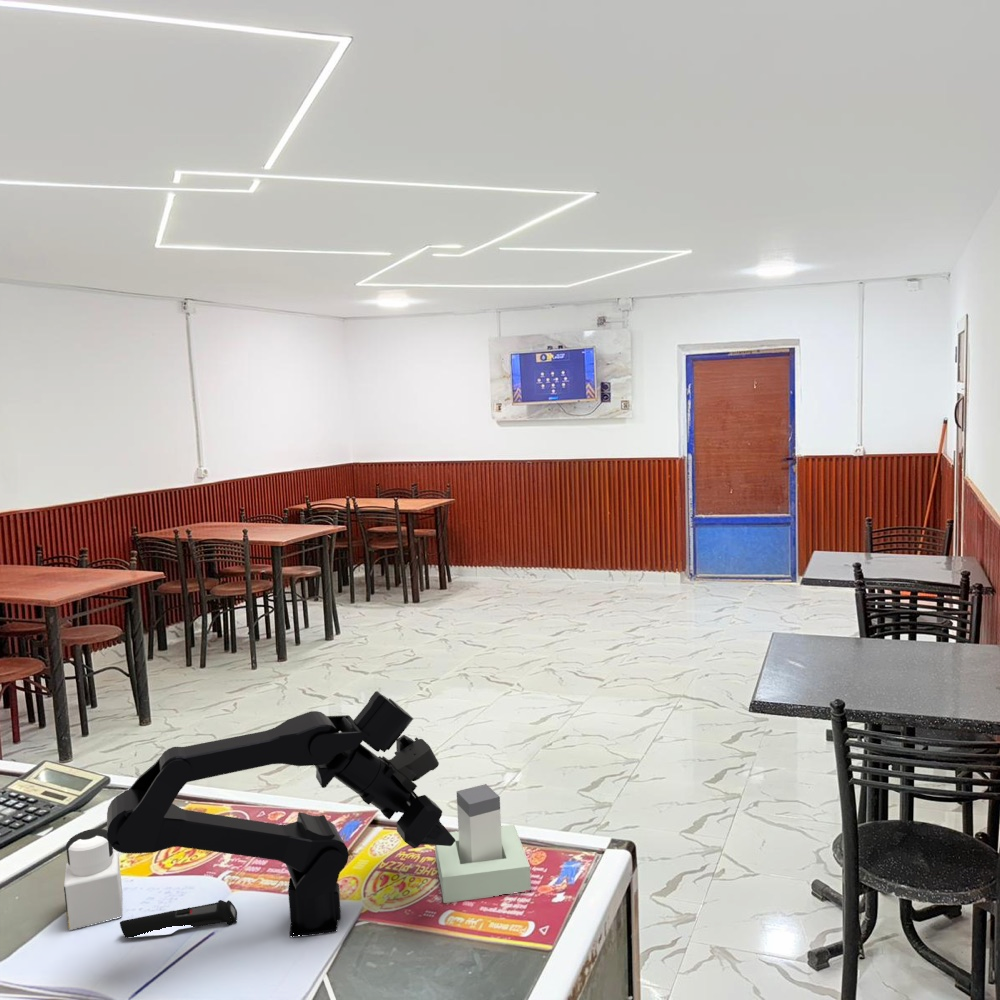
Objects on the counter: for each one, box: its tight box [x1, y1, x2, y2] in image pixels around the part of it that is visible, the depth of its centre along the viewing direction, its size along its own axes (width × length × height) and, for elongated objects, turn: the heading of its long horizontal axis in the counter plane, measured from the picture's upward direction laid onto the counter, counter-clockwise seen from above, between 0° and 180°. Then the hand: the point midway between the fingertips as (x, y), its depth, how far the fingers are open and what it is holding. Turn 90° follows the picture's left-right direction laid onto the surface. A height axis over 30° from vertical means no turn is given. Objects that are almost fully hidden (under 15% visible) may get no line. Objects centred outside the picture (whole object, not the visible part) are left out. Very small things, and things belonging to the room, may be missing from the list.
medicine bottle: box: [63, 828, 124, 931], centre depth 129 cm, size 7×7×12 cm
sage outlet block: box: [434, 824, 532, 904], centre depth 135 cm, size 13×13×4 cm
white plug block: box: [456, 783, 502, 864], centre depth 135 cm, size 5×5×12 cm
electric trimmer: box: [119, 899, 238, 939], centre depth 125 cm, size 4×16×3 cm, turn 105°
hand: (441, 829), depth 132 cm, fingers open, 9 cm apart
